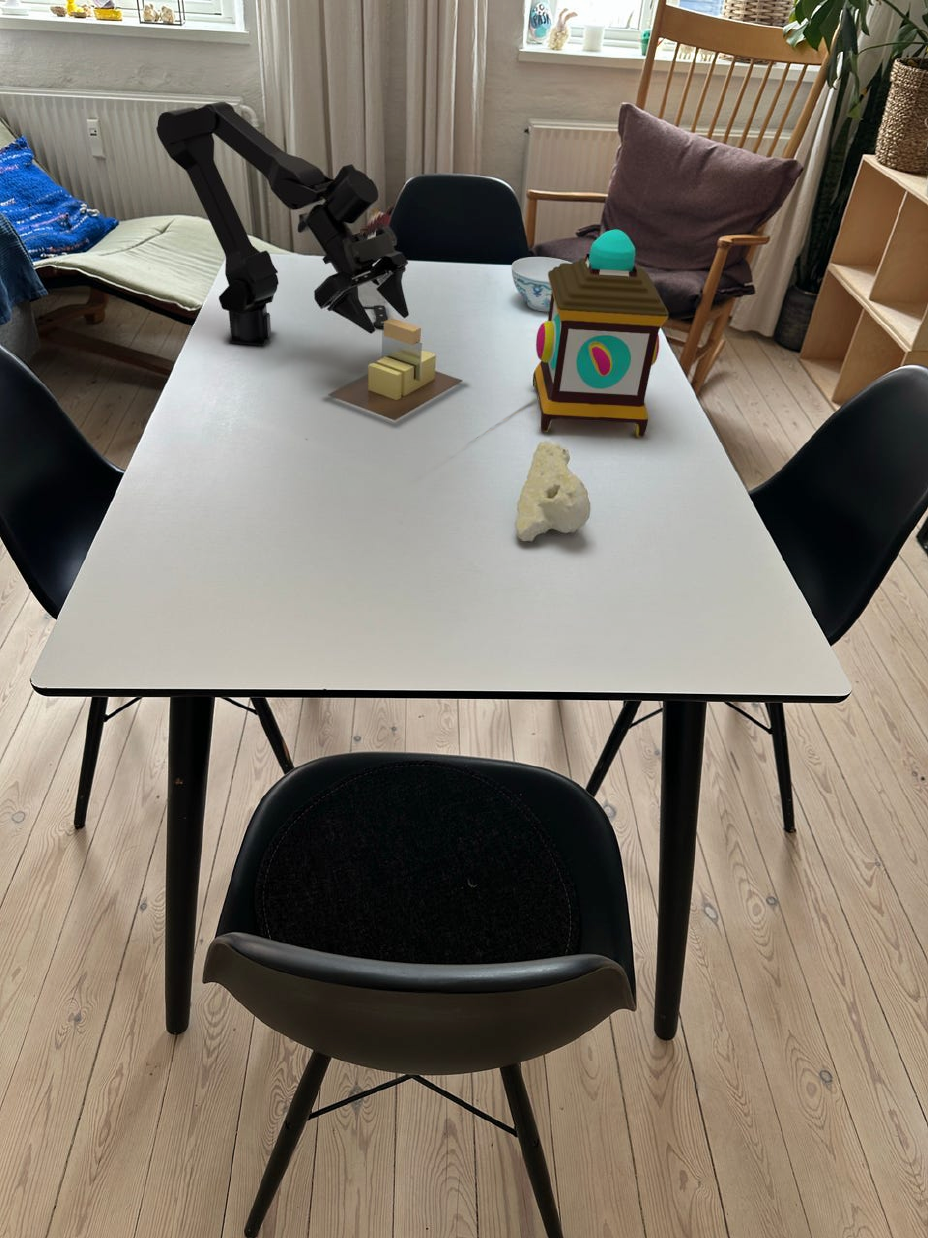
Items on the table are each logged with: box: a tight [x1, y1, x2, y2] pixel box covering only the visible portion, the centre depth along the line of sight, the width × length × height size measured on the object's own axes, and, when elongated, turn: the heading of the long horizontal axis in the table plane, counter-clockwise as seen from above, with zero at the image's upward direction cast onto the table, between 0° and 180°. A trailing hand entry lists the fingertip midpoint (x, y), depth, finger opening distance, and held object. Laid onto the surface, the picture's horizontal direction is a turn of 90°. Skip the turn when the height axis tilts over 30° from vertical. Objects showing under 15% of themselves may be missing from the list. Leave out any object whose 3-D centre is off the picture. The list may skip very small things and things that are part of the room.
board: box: [327, 370, 464, 421], centre depth 158 cm, size 14×20×1 cm
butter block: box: [375, 349, 437, 396], centre depth 158 cm, size 6×9×4 cm, turn 146°
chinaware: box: [511, 256, 573, 313], centre depth 193 cm, size 15×15×8 cm
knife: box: [381, 317, 423, 381], centre depth 154 cm, size 8×2×9 cm, turn 56°
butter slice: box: [368, 362, 402, 400], centre depth 154 cm, size 6×1×4 cm, turn 56°
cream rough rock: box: [515, 441, 592, 542], centre depth 128 cm, size 15×7×15 cm
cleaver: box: [355, 276, 389, 329], centre depth 190 cm, size 29×1×10 cm
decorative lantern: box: [532, 229, 670, 438], centre depth 148 cm, size 20×20×30 cm
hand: (390, 324), depth 153 cm, fingers open, 9 cm apart
